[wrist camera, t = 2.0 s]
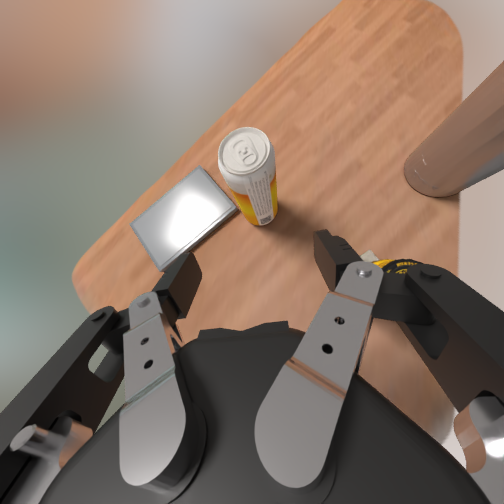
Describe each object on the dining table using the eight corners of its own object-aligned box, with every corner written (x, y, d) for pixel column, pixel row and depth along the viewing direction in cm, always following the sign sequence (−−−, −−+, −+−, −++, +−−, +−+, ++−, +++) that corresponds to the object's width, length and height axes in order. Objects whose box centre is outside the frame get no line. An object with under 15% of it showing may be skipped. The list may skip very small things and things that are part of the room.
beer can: (266, 189, 33) (254, 113, 18) (284, 215, 31) (286, 154, 17) (238, 206, 33) (204, 145, 19) (254, 233, 32) (232, 189, 17)
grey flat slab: (202, 168, 36) (199, 164, 35) (238, 209, 33) (236, 206, 32) (134, 226, 36) (128, 223, 35) (163, 272, 33) (159, 271, 32)
